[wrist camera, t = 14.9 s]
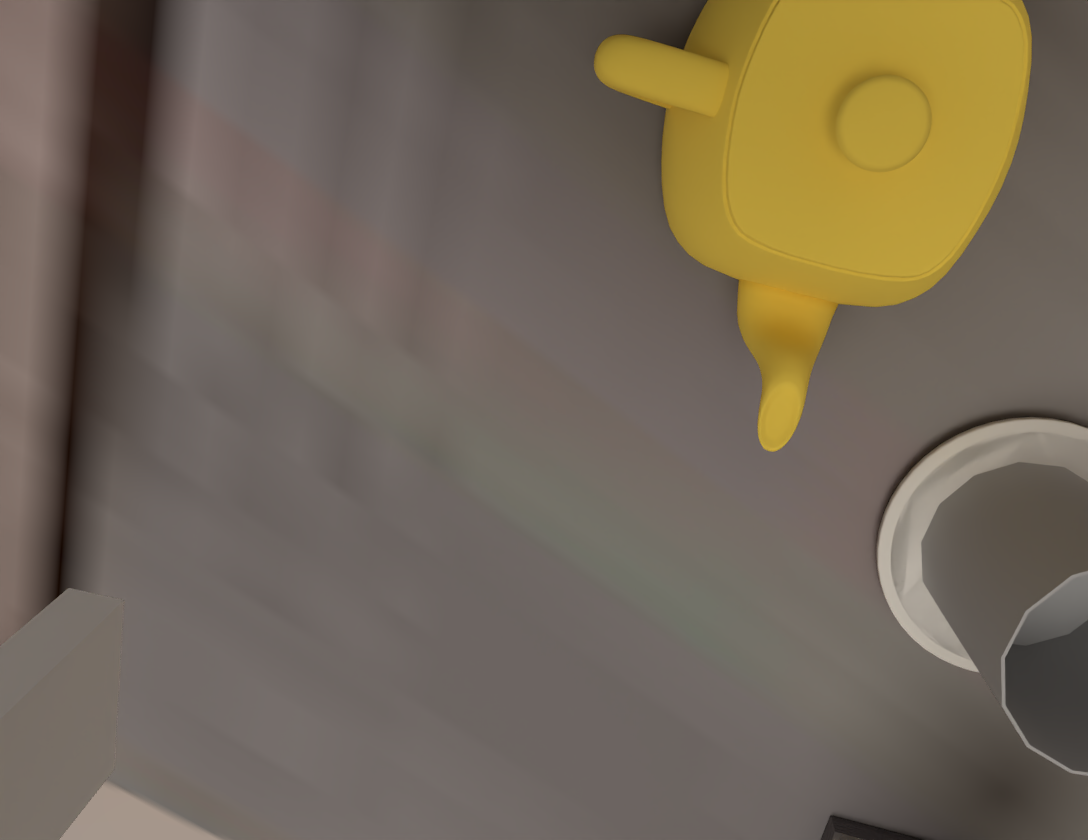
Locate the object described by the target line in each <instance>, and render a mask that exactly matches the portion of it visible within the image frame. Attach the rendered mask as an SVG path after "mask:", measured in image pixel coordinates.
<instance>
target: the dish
mask: <svg viewBox="0 0 1088 840" xmlns="http://www.w3.org/2000/svg"><path fill="white" fill-rule="evenodd" d="M1017 462H1024V463H1033V464H1042V465H1051V466H1060V467H1065V468H1067V469H1068V470H1070V471H1072V472H1073V473H1075V474H1076V475H1078V476H1080V477H1081V478H1083V479H1084V480H1086V481H1088V428H1087V427H1084V426H1081V425H1078V424H1075V423H1072V422H1068V421H1063V420H1057V419H1052V418H1039V417H1024V418H1011V419H1005V420H999V421H994V422H990V423H987V424H984V425H980V426H977V427H974V428H972V429H969V430H967V431H965V432H962V433H960V434H958V435H956V436H954V437H952V438H951V439H949V440H947V441H945V442H944V443H942V444H940V445H939V446H938V447H936V448H935V449H934V450H932V451H931V452H930V453H928V454H927V455H925V456H924V457H923V458H922V459H921V460H920V461H919V462H918V463H917V464H916V465H915V466H914V467H913V468H912V469H911V470H910V471H909V472H908V474H907V475H906V476H905V477H904V479H903V480H902V481H901V482H900V484H899V485H898V487H897V489H896V490H895V492H894V493H893V495H892V497H891V498H890V501H889V503H888V505H887V507H886V509H885V512H884V514H883V517H882V521H881V524H880V527H879V532H878V539H877V545H876V564H877V571H878V577H879V581H880V584H881V588H882V591H883V594H884V596H885V598H886V600H887V603H888V605H889V607H890V609H891V611H892V613H893V614H894V616H895V617H896V619H897V620H898V622H899V623H900V625H901V626H902V627H903V628H904V630H905V631H906V632H907V633H908V634H909V635H910V636H911V637H912V638H913V639H914V640H915V641H916V642H917V643H918V644H920V645H921V646H922V647H923V648H924V649H926V650H927V651H929V652H930V653H932V654H934V655H935V656H937V657H938V658H940V659H942V660H944V661H946V662H948V663H951V664H953V665H955V666H958V667H961V668H964V669H967V670H970V671H975V672H979V671H978V669H977V668H976V666H975V664H974V663H973V661H972V660H971V658H970V657H969V655H968V653H967V652H966V650H965V649H964V647H963V646H962V644H961V642H960V641H959V639H958V638H957V636H956V634H955V633H954V631H953V630H952V628H951V627H950V625H949V623H948V622H947V620H946V619H945V617H944V616H943V614H942V612H941V611H940V609H939V607H938V606H937V604H936V602H935V601H934V599H933V598H932V596H931V594H930V593H929V591H928V589H927V588H926V586H925V585H924V583H923V579H922V553H921V541H922V539H923V537H924V535H925V533H926V531H927V529H928V527H929V525H930V523H931V520H932V518H933V516H934V514H935V512H936V510H937V508H938V506H939V504H940V503H941V502H943V501H944V500H945V499H946V498H947V497H949V496H950V495H951V494H952V493H953V492H955V491H956V490H957V489H958V488H960V487H961V486H962V485H963V484H964V483H966V482H967V481H968V480H969V479H970V478H972V477H973V476H974V475H977V474H981V473H984V472H987V471H990V470H994V469H997V468H1000V467H1004V466H1007V465H1010V464H1014V463H1017Z"/></svg>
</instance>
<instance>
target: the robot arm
mask: <svg viewBox="0 0 1088 840" xmlns="http://www.w3.org/2000/svg"><path fill="white" fill-rule="evenodd" d="M123 611H124V600H122V599H117V598H113V597H108V596H103V595H99V594H94V593H89V592H85V591H80V590H76V589H71V588H68V589H67V590H66V591H65V592H63V593H62V594H61V595H60V596H59V597H58V598H56V599H55V600H54V601H53V602H52V603H50V604H49V605H48V606H47V607H46V608H45V609H43V610H42V611H41V612H40V613H39V614H38V615H36V616H35V617H34V618H33V619H32V620H30V621H29V622H28V623H27V624H26V625H25V626H23V627H22V628H21V629H20V630H19V631H17V632H16V633H15V634H14V635H13V636H12V637H10V638H9V639H8V640H7V641H6V642H5V643H3V644H2V645H1V646H0V840H59V839H60V838H61V836H62V835H63V834H64V833H65V831H66V830H67V829H68V828H69V827H70V825H71V824H72V823H73V821H74V820H75V819H76V818H77V816H78V815H79V814H80V813H81V811H82V810H83V809H84V808H85V806H86V805H87V804H88V802H89V801H90V800H91V798H92V797H93V796H94V795H95V793H96V792H97V791H98V790H99V788H100V787H101V786H102V785H103V783H104V782H105V781H106V780H107V778H108V777H109V776H110V775H111V773H112V772H113V771H114V766H115V749H116V732H117V715H118V697H119V680H120V663H121V646H122V628H123Z"/></svg>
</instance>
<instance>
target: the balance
mask: <svg viewBox="0 0 1088 840" xmlns="http://www.w3.org/2000/svg"><path fill="white" fill-rule="evenodd" d="M821 840H921V839H917V838H913V837H910V836H906V835H902V834H898V833H895V832H891V831H887V830H883V829H880V828H876V827H872V826H868V825H865V824H861V823H857V822H853V821H850V820H846V819H842V818H838V817H835V816H830V818H829V821H828V823H827V826H826V828H825V831H824V833H823V836H822V839H821Z"/></svg>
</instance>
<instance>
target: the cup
mask: <svg viewBox="0 0 1088 840" xmlns="http://www.w3.org/2000/svg"><path fill="white" fill-rule="evenodd" d="M921 553H922V579H923V583H924V585H925V586H926V588H927V589H928V591H929V593H930V594H931V596H932V598H933V599H934V601H935V602H936V604H937V606H938V607H939V609H940V611H941V612H942V614H943V616H944V617H945V619H946V620H947V622H948V623H949V625H950V627H951V628H952V630H953V631H954V633H955V634H956V636H957V638H958V639H959V641H960V642H961V644H962V646H963V647H964V649H965V650H966V652H967V653H968V655H969V657H970V658H971V660H972V661H973V663H974V664H975V666H976V668H977V669H978V671H979V672H980V674H981V676H982V677H983V679H984V680H985V682H986V683H987V685H988V687H989V688H990V690H991V691H992V693H993V694H994V696H995V698H996V699H997V701H998V702H999V704H1000V706H1001V707H1002V709H1003V710H1004V712H1005V713H1006V715H1007V717H1008V718H1009V720H1010V721H1011V723H1012V724H1013V726H1014V728H1015V729H1016V731H1017V732H1018V734H1019V736H1020V737H1021V739H1022V740H1023V742H1024V743H1025V745H1026V747H1028V748H1029V749H1031V750H1033V751H1034V752H1036V753H1038V754H1039V755H1041V756H1043V757H1044V758H1046V759H1048V760H1049V761H1051V762H1053V763H1054V764H1056V765H1058V766H1059V767H1061V768H1063V769H1064V770H1066V771H1068V772H1069V773H1072V774H1080V775H1088V481H1086V480H1084V479H1083V478H1081V477H1080V476H1078V475H1076V474H1075V473H1073V472H1072V471H1070V470H1068V469H1067V468H1065V467H1060V466H1051V465H1042V464H1033V463H1024V462H1017V463H1014V464H1010V465H1007V466H1004V467H1000V468H997V469H994V470H990V471H987V472H984V473H981V474H977V475H974V476H973V477H972V478H970V479H969V480H968V481H967V482H966V483H964V484H963V485H962V486H961V487H960V488H958V489H957V490H956V491H955V492H953V493H952V494H951V495H950V496H949V497H947V498H946V499H945V500H944V501H943V502H941V503H940V504H939V506H938V508H937V510H936V512H935V514H934V516H933V518H932V520H931V523H930V525H929V527H928V529H927V531H926V533H925V535H924V537H923V539H922V541H921Z"/></svg>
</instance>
